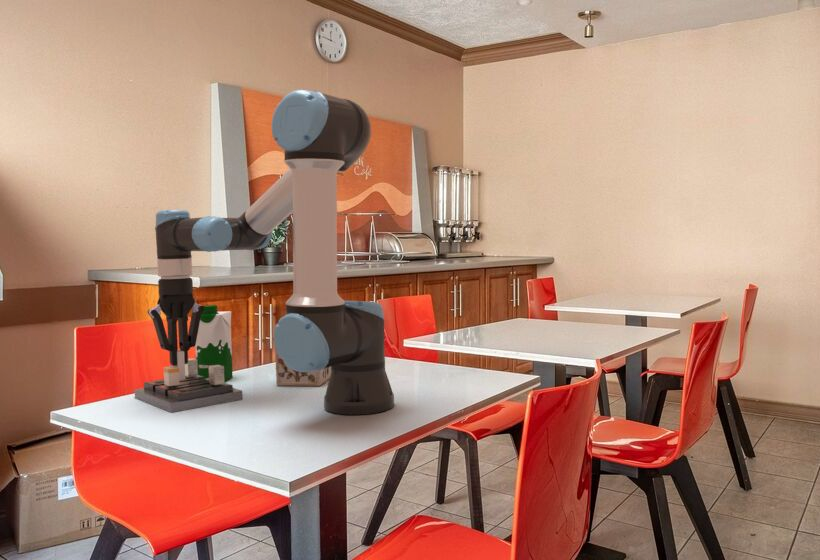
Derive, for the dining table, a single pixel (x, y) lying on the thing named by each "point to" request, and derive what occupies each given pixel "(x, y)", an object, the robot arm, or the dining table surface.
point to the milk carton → (214, 342)
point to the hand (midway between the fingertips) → (179, 378)
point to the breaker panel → (185, 403)
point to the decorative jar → (299, 375)
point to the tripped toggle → (171, 375)
